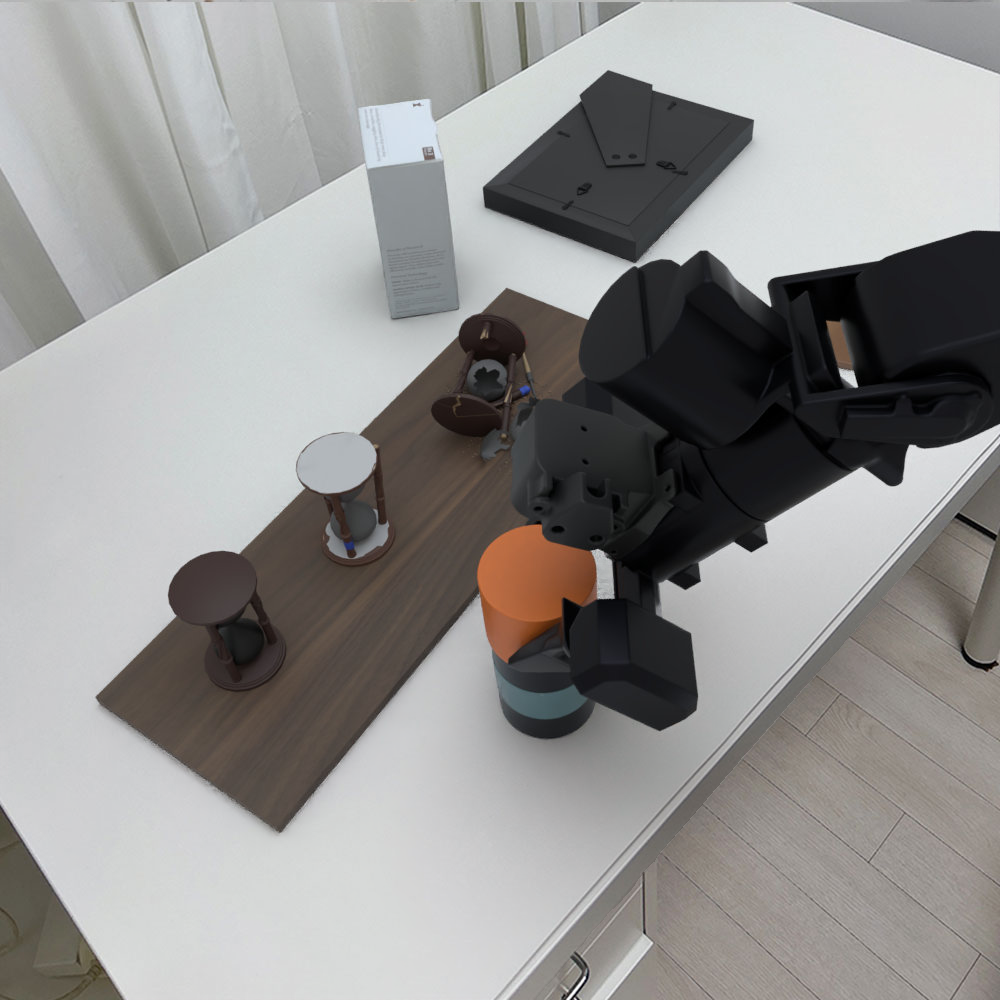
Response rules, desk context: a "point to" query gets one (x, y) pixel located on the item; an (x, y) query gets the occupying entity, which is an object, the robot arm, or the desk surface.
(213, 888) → the desk surface
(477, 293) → the desk surface
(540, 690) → the navy teal banded cylinder
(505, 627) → the cap
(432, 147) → the cosmetic box
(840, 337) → the coaster
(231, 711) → the hourglass set
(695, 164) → the picture frame
